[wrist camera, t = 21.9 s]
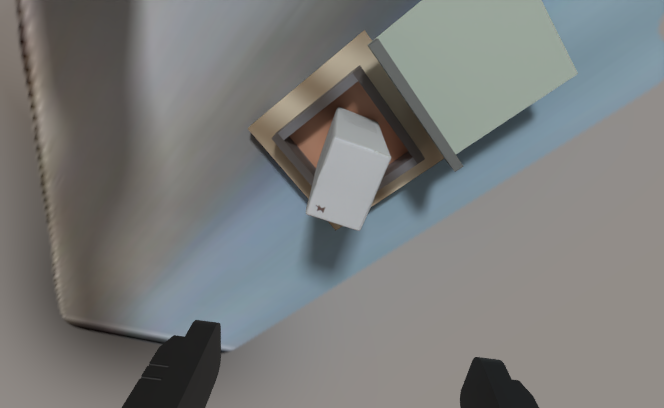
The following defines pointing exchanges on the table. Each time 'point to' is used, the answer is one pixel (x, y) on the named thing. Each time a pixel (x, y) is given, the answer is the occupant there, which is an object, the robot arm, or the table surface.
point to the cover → (472, 65)
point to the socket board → (353, 95)
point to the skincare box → (348, 170)
